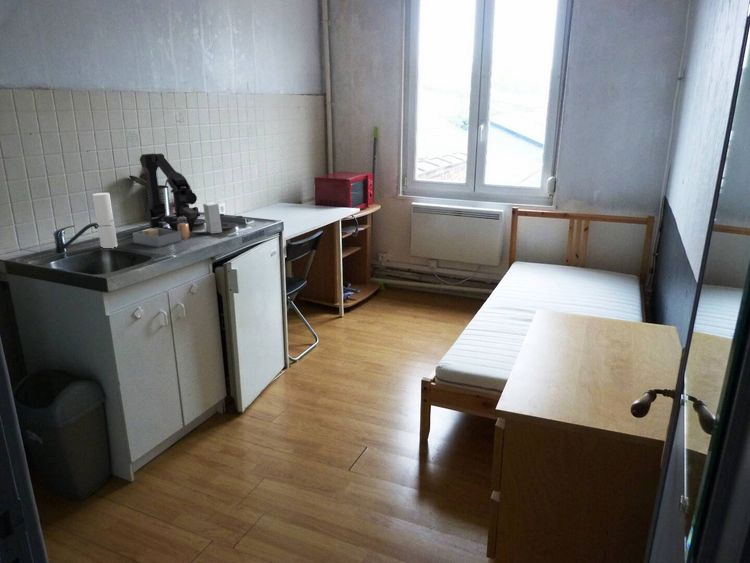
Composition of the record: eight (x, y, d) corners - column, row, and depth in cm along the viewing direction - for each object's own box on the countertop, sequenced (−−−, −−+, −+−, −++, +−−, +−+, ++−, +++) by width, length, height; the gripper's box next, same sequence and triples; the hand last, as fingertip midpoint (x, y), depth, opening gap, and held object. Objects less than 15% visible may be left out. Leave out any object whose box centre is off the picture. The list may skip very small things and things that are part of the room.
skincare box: (222, 232, 291) (219, 204, 287) (210, 234, 288) (207, 205, 284) (216, 229, 298) (214, 201, 294) (205, 231, 295) (202, 202, 290)
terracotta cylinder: (177, 238, 281) (175, 224, 279) (184, 236, 285) (183, 222, 283) (184, 239, 279) (182, 225, 277) (191, 237, 283) (190, 223, 281)
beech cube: (143, 240, 274) (142, 230, 273) (152, 238, 278) (151, 228, 277) (150, 241, 272) (149, 231, 270) (159, 239, 276) (157, 229, 274)
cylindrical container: (121, 245, 268) (112, 193, 260) (109, 249, 261) (101, 195, 253) (109, 244, 270) (100, 192, 262) (97, 248, 263) (88, 194, 256)
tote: (133, 243, 272) (132, 233, 270) (156, 237, 283) (155, 227, 281) (158, 247, 263) (157, 237, 262) (181, 241, 275) (180, 231, 273)
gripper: (176, 206, 265) (180, 239, 270) (206, 200, 280) (209, 231, 285) (160, 204, 270) (164, 236, 275) (190, 198, 286) (193, 229, 290)
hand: (184, 233), depth 281 cm, fingers open, 9 cm apart
